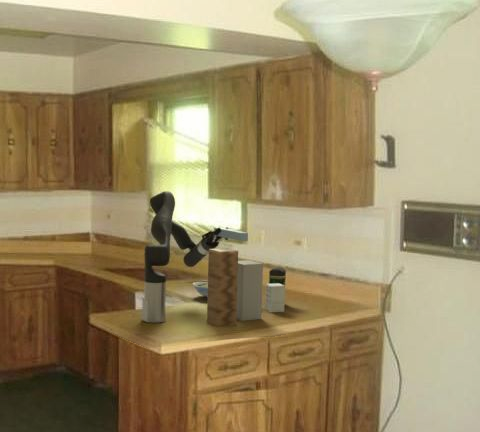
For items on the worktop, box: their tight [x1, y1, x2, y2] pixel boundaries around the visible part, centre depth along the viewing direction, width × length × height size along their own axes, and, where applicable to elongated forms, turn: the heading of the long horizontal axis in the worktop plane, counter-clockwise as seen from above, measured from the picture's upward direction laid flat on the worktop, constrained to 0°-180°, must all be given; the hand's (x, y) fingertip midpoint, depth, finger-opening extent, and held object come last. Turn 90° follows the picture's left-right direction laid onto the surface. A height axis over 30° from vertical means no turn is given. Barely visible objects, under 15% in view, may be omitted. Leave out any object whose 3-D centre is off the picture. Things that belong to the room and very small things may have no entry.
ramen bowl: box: [187, 279, 208, 299], centre depth 376 cm, size 25×23×8 cm
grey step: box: [236, 259, 264, 322], centre depth 331 cm, size 10×12×25 cm
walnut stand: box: [206, 247, 239, 327], centre depth 316 cm, size 9×10×32 cm
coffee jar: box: [268, 266, 287, 287], centre depth 362 cm, size 10×8×19 cm
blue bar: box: [213, 226, 249, 242], centre depth 329 cm, size 4×24×4 cm, turn 31°
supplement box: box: [264, 283, 286, 313], centre depth 348 cm, size 7×7×13 cm
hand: (223, 229), depth 334 cm, fingers closed on blue bar, 3 cm apart
